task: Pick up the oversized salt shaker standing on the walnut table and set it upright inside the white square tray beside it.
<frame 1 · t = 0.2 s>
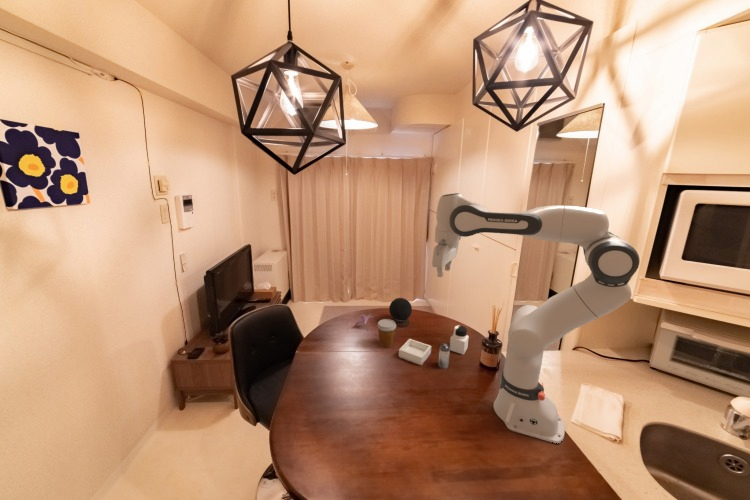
hand: (443, 273, 110), 47 cm above the table, fingers open, 8 cm apart
disposable coffee cup: (385, 344, 146), on the table
black ball on stand: (399, 322, 169), on the table
medicine bottle: (458, 349, 144), on the table
lily: (363, 327, 162), on the table
salt shaker: (443, 365, 131), on the table
white square tray: (414, 355, 138), on the table
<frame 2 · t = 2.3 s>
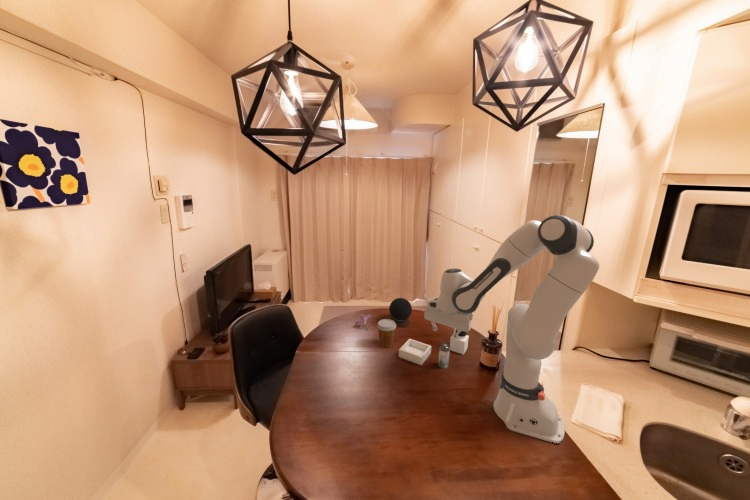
hand: (445, 333, 127), 16 cm above the table, fingers open, 8 cm apart
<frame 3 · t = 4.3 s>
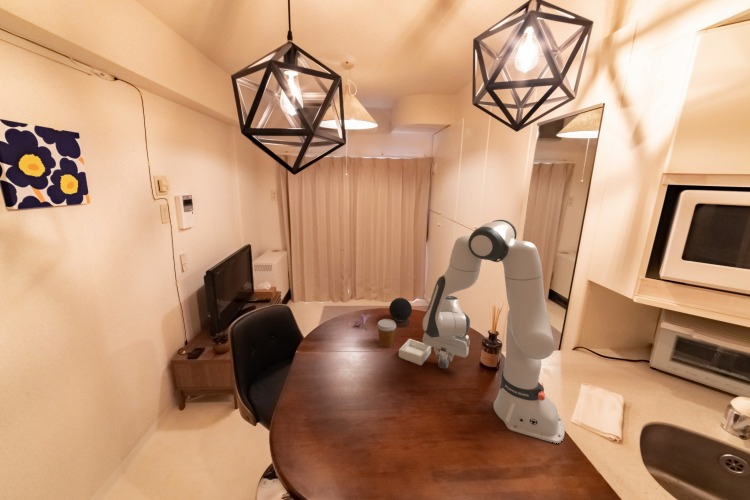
hand: (443, 358, 130), 4 cm above the table, fingers closed on salt shaker, 4 cm apart
salt shaker: (443, 365, 131), on the table, touching gripper
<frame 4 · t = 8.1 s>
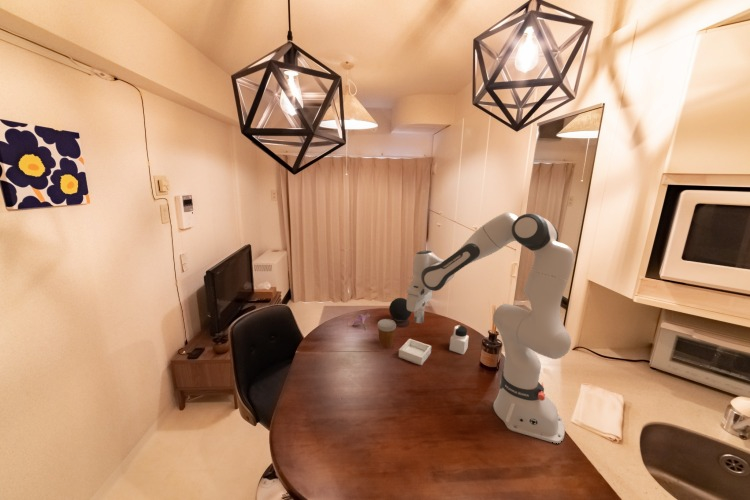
hand: (419, 313, 133), 21 cm above the table, fingers closed on salt shaker, 4 cm apart
salt shaker: (418, 320, 134), point 18 cm above the table, touching gripper
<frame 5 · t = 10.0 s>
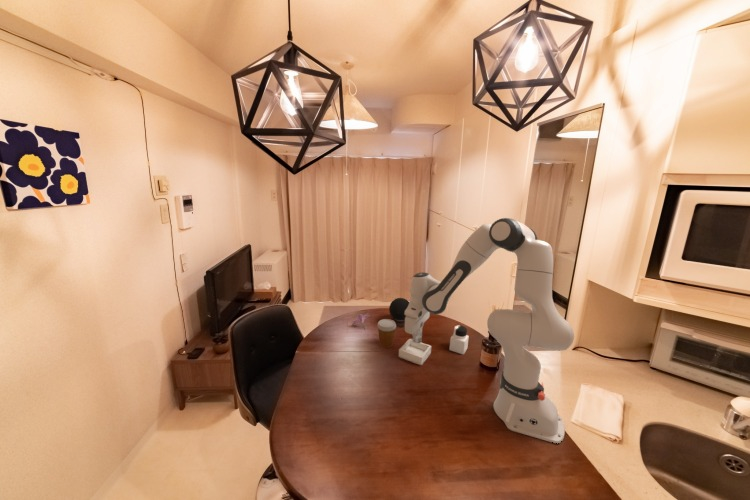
hand: (417, 333, 136), 11 cm above the table, fingers closed on salt shaker, 4 cm apart
salt shaker: (416, 340, 137), point 7 cm above the table, touching gripper
when the fingers open (6 cm above the table, at t = 11.8 s): salt shaker drops 2 cm, resting on white square tray.
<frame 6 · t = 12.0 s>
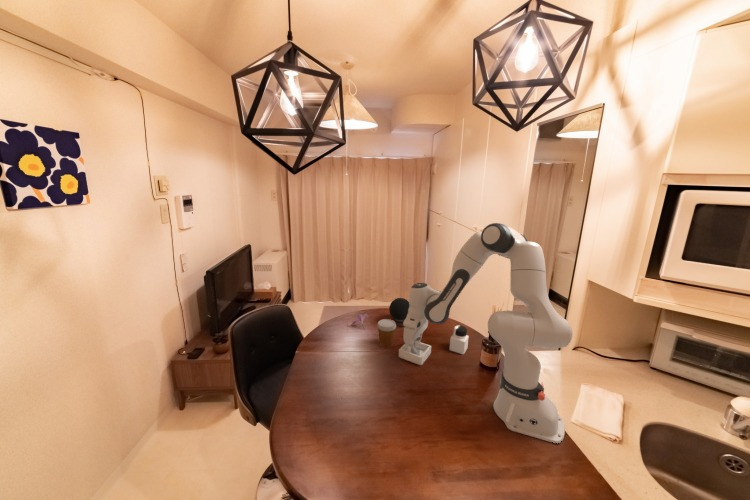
hand: (415, 343, 136), 6 cm above the table, fingers open, 6 cm apart
salt shaker: (415, 353, 137), point 1 cm above the table, touching white square tray
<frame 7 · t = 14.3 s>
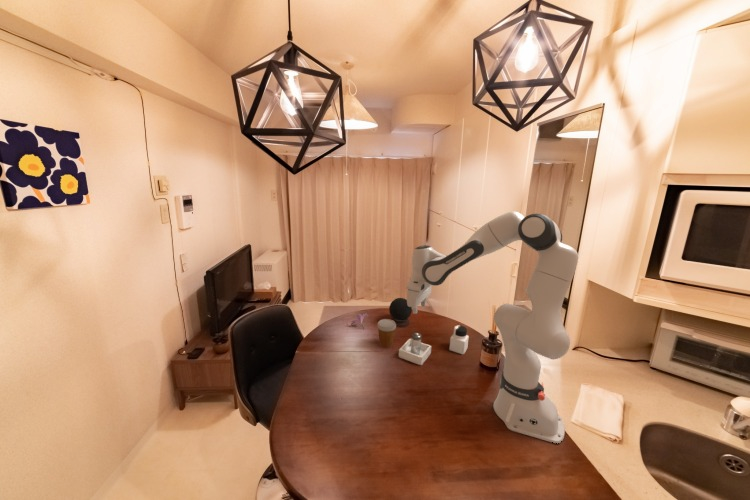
hand: (419, 309, 132), 24 cm above the table, fingers open, 8 cm apart
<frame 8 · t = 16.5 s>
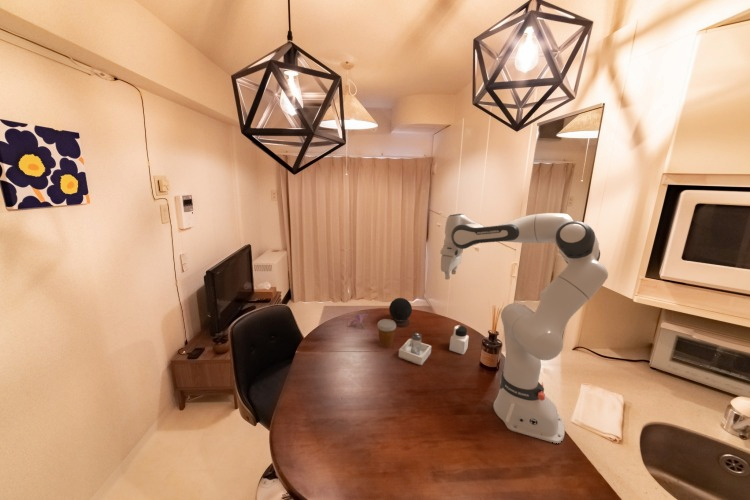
hand: (450, 276, 138), 37 cm above the table, fingers open, 8 cm apart
at the end: salt shaker inside the target area on the white square tray (0.1 cm from its centre), point 0.9 cm above the white square tray's base; salt shaker tilted 2°; the gripper is holding nothing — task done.
